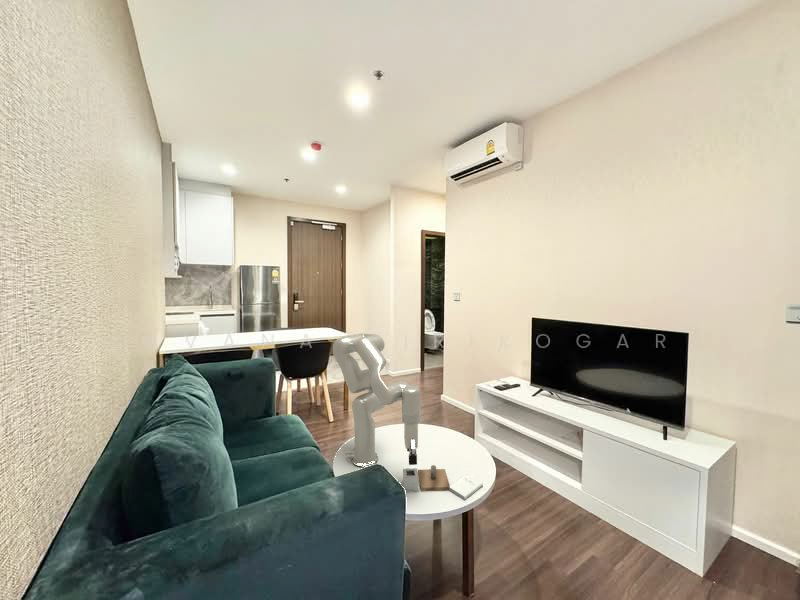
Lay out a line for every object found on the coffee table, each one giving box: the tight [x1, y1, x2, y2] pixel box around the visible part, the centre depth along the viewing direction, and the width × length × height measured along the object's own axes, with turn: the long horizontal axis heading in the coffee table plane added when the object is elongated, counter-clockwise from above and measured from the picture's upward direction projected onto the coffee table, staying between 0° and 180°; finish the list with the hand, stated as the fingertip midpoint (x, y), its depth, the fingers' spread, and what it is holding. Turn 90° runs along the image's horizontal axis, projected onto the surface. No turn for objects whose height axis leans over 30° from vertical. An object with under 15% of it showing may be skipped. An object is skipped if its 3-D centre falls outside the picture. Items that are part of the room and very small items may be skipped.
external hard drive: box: [448, 473, 484, 501], centre depth 134 cm, size 2×8×12 cm
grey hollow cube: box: [402, 467, 420, 493], centre depth 135 cm, size 6×6×6 cm
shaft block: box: [417, 464, 451, 492], centre depth 138 cm, size 12×12×6 cm
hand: (411, 457), depth 133 cm, fingers open, 9 cm apart
